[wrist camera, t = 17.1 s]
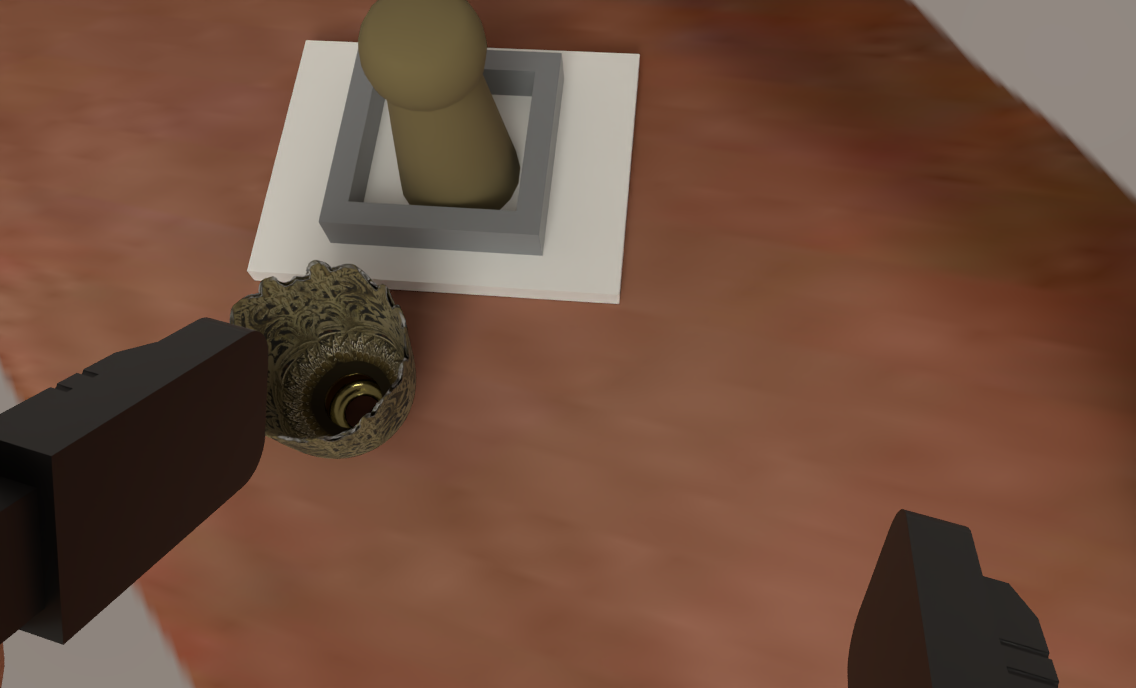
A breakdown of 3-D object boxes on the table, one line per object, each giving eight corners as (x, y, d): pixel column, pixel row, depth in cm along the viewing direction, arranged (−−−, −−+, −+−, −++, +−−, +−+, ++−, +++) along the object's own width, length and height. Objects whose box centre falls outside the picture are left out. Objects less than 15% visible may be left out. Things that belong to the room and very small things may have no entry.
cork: (384, 148, 48) (318, -11, 38) (495, 106, 48) (460, -61, 38) (423, 243, 45) (364, 102, 35) (538, 199, 46) (513, 47, 36)
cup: (302, 514, 42) (232, 466, 34) (268, 368, 44) (197, 295, 37) (462, 459, 42) (428, 400, 35) (419, 318, 45) (379, 236, 38)
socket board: (639, 66, 50) (640, 27, 47) (619, 304, 45) (619, 275, 42) (311, 52, 52) (294, 13, 49) (254, 280, 46) (230, 251, 44)
